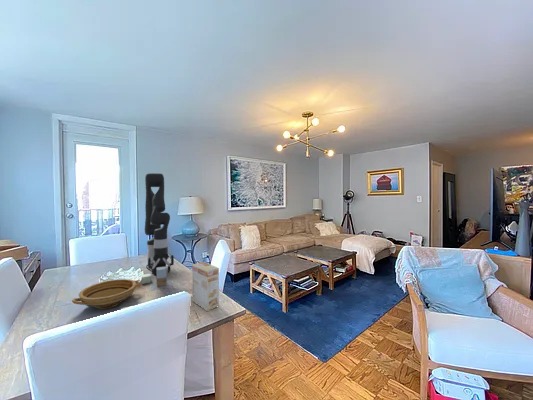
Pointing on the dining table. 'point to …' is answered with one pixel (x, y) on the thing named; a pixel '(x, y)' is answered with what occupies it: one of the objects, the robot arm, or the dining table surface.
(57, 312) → the dining table surface
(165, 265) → the coffee mug
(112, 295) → the ceramic bowl
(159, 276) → the brick slate
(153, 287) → the build plate
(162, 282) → the brick base
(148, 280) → the brick sage
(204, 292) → the coffeecake box
